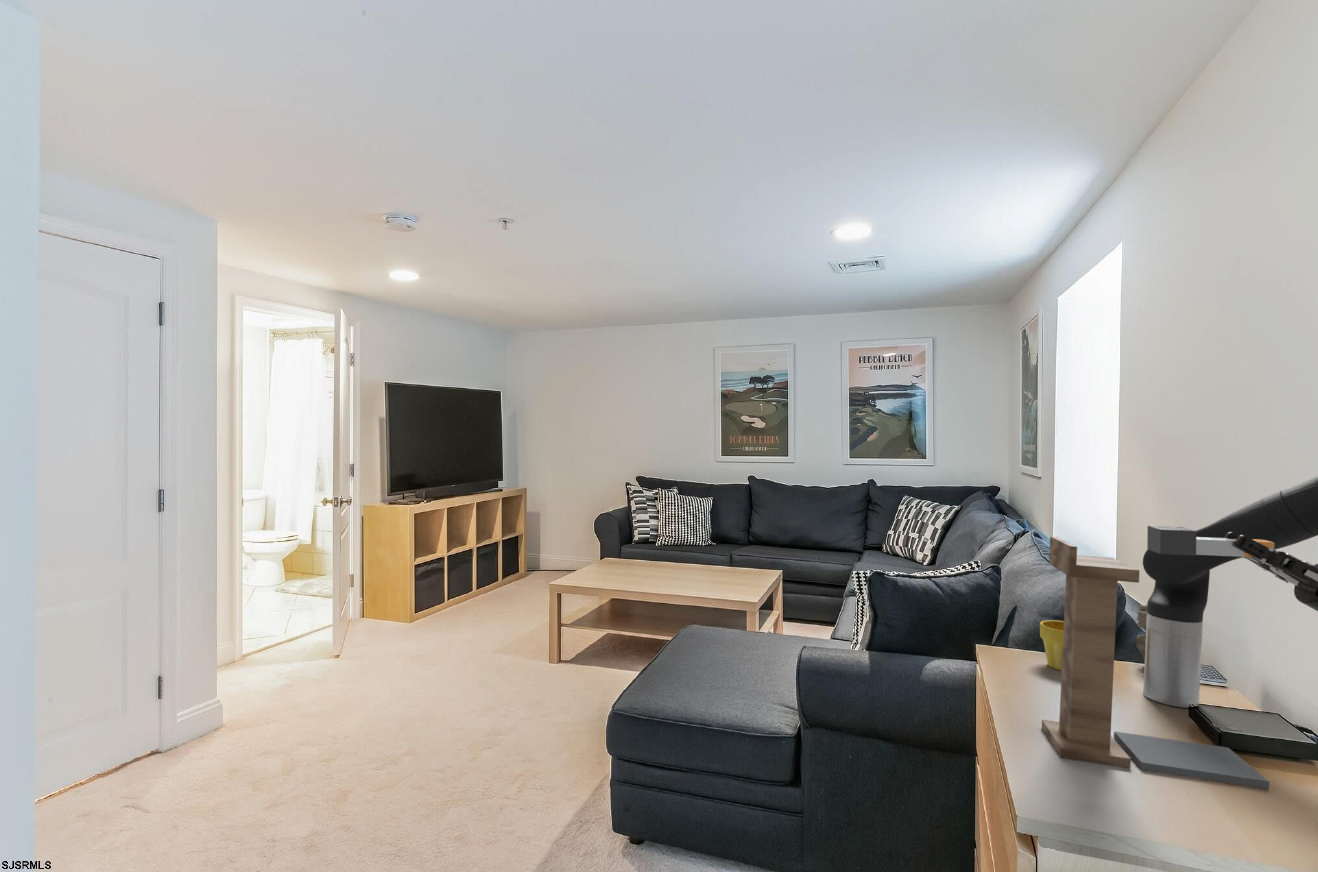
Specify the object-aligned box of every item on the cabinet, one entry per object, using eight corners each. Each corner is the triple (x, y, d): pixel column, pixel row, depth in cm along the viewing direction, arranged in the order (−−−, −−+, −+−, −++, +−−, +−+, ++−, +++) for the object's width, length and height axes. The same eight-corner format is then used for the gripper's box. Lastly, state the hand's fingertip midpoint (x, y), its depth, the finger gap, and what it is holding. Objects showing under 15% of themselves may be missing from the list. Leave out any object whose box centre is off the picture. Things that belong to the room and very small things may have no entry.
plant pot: (1031, 665, 159) (1033, 624, 159) (1046, 657, 166) (1048, 617, 166) (1081, 679, 151) (1083, 635, 151) (1095, 669, 159) (1097, 627, 158)
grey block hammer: (1147, 549, 116) (1147, 525, 116) (1259, 553, 112) (1259, 529, 112) (1160, 554, 112) (1160, 529, 112) (1278, 559, 107) (1278, 534, 107)
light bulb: (1168, 673, 158) (1171, 608, 158) (1141, 670, 159) (1144, 606, 159) (1155, 665, 163) (1158, 603, 163) (1130, 663, 164) (1132, 600, 164)
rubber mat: (1113, 738, 121) (1114, 731, 121) (1227, 754, 116) (1228, 747, 116) (1141, 769, 110) (1141, 762, 110) (1268, 789, 105) (1269, 781, 105)
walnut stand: (1041, 727, 124) (1050, 536, 124) (1104, 736, 121) (1113, 540, 121) (1060, 757, 113) (1070, 546, 112) (1130, 768, 110) (1140, 551, 110)
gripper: (1328, 569, 113) (1222, 514, 117) (1393, 587, 100) (1271, 524, 104) (1300, 606, 114) (1196, 550, 118) (1361, 629, 101) (1241, 565, 105)
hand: (1232, 538), depth 111 cm, fingers closed on grey block hammer, 3 cm apart
